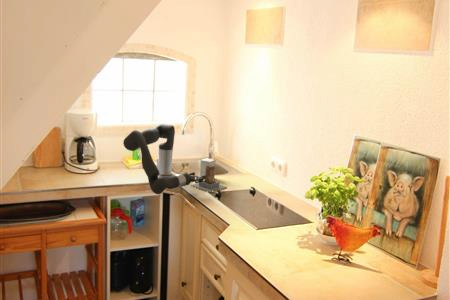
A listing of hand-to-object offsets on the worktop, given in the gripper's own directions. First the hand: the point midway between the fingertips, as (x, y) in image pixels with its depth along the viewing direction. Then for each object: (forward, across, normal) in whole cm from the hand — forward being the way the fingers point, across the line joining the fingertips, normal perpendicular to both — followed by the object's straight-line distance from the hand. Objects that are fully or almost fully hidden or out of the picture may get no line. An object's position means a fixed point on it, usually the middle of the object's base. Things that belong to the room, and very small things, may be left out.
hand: (199, 175), depth 284 cm
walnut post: (+10, 0, -8) cm, 13 cm away
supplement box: (+24, -14, -10) cm, 29 cm away
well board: (+10, 0, -9) cm, 13 cm away
